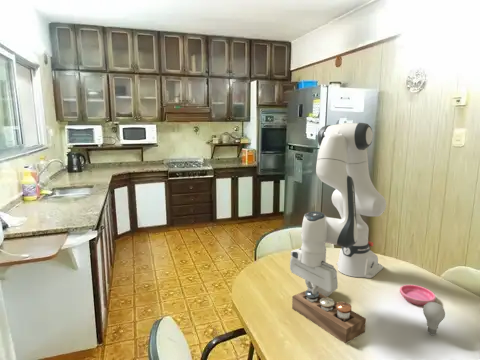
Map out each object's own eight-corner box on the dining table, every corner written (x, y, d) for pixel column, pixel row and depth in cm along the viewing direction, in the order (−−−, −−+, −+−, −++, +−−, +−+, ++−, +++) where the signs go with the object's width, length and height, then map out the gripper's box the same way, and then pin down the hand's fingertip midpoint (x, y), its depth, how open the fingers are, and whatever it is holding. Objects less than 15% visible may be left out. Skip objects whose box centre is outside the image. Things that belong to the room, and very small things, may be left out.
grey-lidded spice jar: (311, 303, 121) (311, 288, 120) (320, 309, 117) (321, 293, 116) (302, 307, 119) (302, 291, 118) (311, 313, 115) (312, 297, 114)
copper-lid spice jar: (341, 316, 110) (342, 300, 109) (353, 323, 106) (354, 306, 105) (332, 321, 107) (333, 304, 106) (344, 328, 103) (345, 311, 102)
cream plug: (325, 312, 116) (326, 296, 115) (336, 318, 112) (337, 302, 111) (316, 316, 113) (317, 300, 112) (327, 323, 109) (327, 306, 108)
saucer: (434, 296, 128) (435, 288, 128) (436, 311, 117) (436, 303, 117) (399, 288, 134) (400, 281, 133) (398, 303, 123) (399, 295, 123)
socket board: (310, 300, 125) (311, 288, 124) (364, 332, 105) (365, 318, 105) (292, 308, 120) (292, 296, 119) (345, 343, 100) (346, 329, 99)
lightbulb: (416, 329, 107) (419, 298, 105) (434, 327, 108) (437, 297, 106) (429, 340, 101) (432, 309, 99) (447, 339, 102) (450, 308, 100)
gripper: (342, 265, 108) (340, 302, 110) (299, 246, 125) (298, 279, 127) (330, 269, 105) (328, 308, 107) (287, 250, 121) (286, 284, 123)
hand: (311, 292), depth 117 cm, fingers closed, pressing on grey-lidded spice jar
